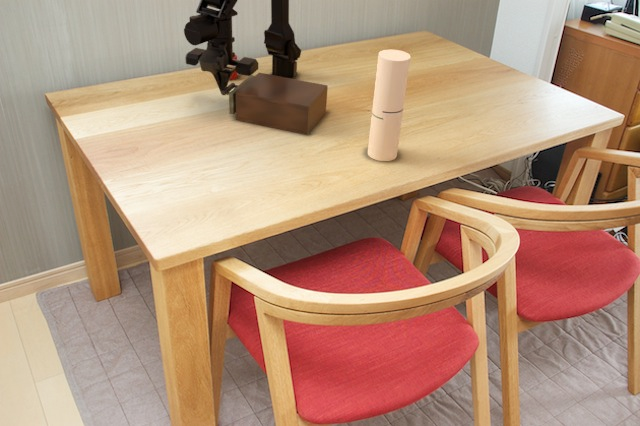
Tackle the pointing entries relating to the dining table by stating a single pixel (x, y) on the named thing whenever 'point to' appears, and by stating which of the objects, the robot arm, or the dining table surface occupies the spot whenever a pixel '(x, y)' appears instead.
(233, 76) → the ketchup bottle
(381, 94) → the cylindrical container
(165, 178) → the dining table surface
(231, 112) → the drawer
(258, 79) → the cabinet
